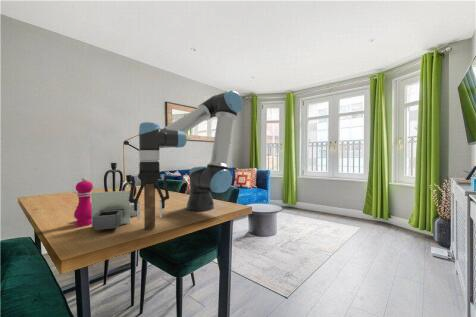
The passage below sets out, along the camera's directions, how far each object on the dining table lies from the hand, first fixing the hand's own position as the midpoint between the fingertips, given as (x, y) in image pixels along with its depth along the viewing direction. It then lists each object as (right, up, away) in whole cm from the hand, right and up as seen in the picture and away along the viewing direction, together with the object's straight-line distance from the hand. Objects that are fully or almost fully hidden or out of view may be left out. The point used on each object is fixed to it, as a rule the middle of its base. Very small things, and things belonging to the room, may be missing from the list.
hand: (149, 217), depth 86 cm
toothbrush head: (-24, -5, +14) cm, 28 cm away
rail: (0, -4, 0) cm, 4 cm away
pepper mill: (-30, -4, +5) cm, 31 cm away
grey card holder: (-16, -4, -1) cm, 16 cm away
